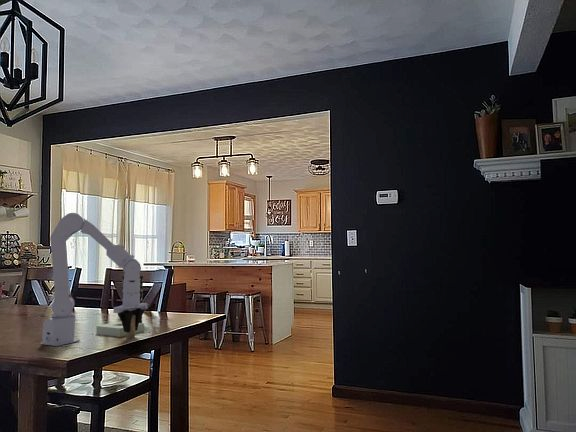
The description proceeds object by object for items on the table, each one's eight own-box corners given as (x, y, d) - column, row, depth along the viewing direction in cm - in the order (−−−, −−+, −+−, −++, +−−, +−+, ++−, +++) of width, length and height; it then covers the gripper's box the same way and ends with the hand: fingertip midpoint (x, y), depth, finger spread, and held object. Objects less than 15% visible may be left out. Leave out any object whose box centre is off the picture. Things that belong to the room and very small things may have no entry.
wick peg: (130, 339, 164) (131, 316, 164) (124, 338, 165) (124, 315, 165) (136, 337, 166) (137, 315, 167) (130, 336, 168) (130, 314, 168)
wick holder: (120, 336, 168) (120, 328, 168) (96, 334, 173) (96, 326, 173) (143, 331, 179) (144, 323, 179) (120, 329, 184) (120, 321, 184)
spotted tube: (132, 321, 203) (133, 275, 204) (146, 323, 199) (147, 276, 200) (117, 324, 196) (118, 276, 197) (130, 325, 192) (131, 277, 193)
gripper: (124, 295, 158) (123, 335, 158) (154, 291, 171) (153, 328, 171) (109, 294, 162) (108, 333, 161) (139, 290, 175) (138, 327, 174)
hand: (130, 331), depth 166 cm, fingers closed on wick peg, 3 cm apart
